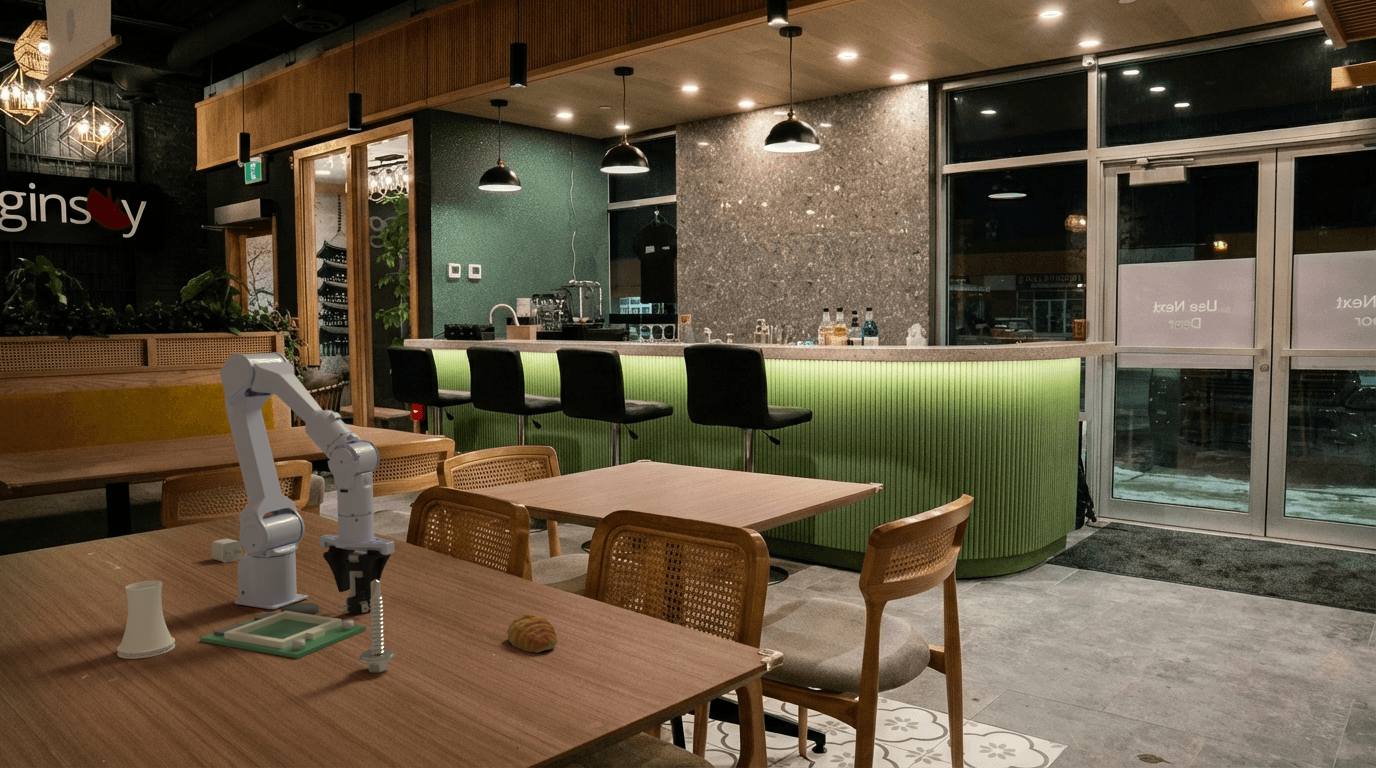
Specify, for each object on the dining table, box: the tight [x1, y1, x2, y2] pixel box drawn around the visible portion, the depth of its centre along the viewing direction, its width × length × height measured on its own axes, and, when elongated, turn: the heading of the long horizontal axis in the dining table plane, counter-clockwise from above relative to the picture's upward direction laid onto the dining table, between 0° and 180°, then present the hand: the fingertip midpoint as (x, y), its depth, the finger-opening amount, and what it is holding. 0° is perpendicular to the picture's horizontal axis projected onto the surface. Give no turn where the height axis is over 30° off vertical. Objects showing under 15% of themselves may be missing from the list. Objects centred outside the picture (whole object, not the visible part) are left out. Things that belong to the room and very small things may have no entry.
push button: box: [337, 550, 371, 616], centre depth 159 cm, size 7×5×10 cm
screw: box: [358, 579, 396, 674], centre depth 132 cm, size 13×5×5 cm
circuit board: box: [199, 611, 367, 659], centre depth 147 cm, size 20×14×2 cm
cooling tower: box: [116, 580, 176, 660], centre depth 141 cm, size 8×8×10 cm
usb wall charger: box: [211, 538, 244, 563], centre depth 196 cm, size 4×7×4 cm, turn 54°
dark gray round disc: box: [280, 602, 320, 615], centre depth 159 cm, size 6×6×1 cm
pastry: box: [506, 613, 558, 654], centre depth 143 cm, size 9×7×4 cm
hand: (357, 592), depth 159 cm, fingers closed on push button, 5 cm apart
